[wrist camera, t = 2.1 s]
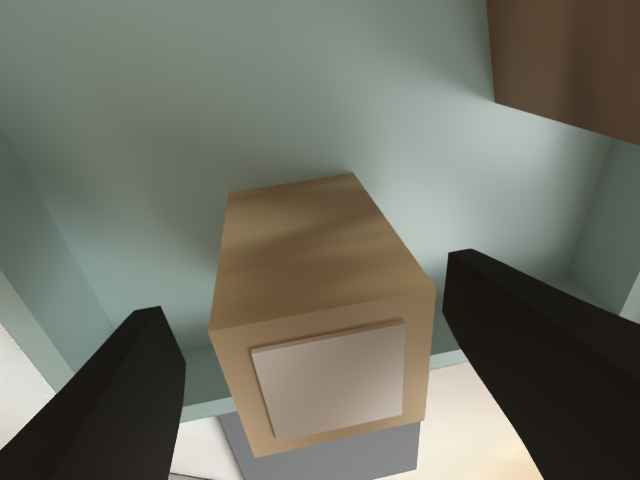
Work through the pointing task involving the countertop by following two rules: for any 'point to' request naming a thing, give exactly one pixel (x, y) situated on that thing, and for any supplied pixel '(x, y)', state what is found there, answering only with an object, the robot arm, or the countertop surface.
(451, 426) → the countertop surface
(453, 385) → the countertop surface
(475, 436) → the countertop surface
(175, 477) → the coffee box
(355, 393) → the oak block
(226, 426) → the mat
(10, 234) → the bin
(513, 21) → the walnut block
